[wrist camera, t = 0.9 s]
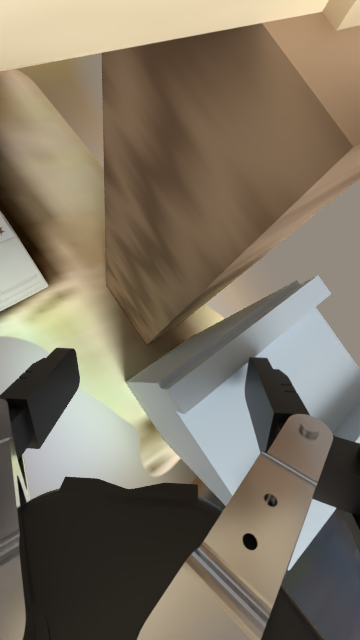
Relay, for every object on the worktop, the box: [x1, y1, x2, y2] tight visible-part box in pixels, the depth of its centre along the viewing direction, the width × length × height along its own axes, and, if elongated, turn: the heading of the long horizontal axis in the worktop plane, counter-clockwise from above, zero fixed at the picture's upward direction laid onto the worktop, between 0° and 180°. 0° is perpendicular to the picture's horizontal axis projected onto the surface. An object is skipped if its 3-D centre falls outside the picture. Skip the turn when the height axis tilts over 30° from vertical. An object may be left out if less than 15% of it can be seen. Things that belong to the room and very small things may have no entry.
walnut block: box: [102, 12, 360, 345], centre depth 22 cm, size 10×7×32 cm
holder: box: [126, 276, 360, 570], centre depth 24 cm, size 9×10×25 cm
